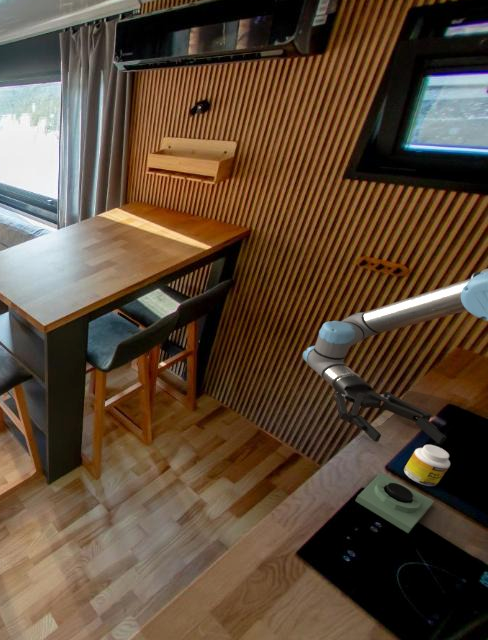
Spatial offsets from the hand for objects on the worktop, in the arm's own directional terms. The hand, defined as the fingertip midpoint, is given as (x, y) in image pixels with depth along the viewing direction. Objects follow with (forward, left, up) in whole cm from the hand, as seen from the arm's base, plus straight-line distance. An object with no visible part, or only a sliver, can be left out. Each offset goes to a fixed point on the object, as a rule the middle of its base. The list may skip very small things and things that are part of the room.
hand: (409, 439), depth 95 cm
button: (+5, +17, -4) cm, 18 cm away
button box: (+5, +17, -7) cm, 19 cm away
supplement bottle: (-2, +5, -7) cm, 9 cm away
